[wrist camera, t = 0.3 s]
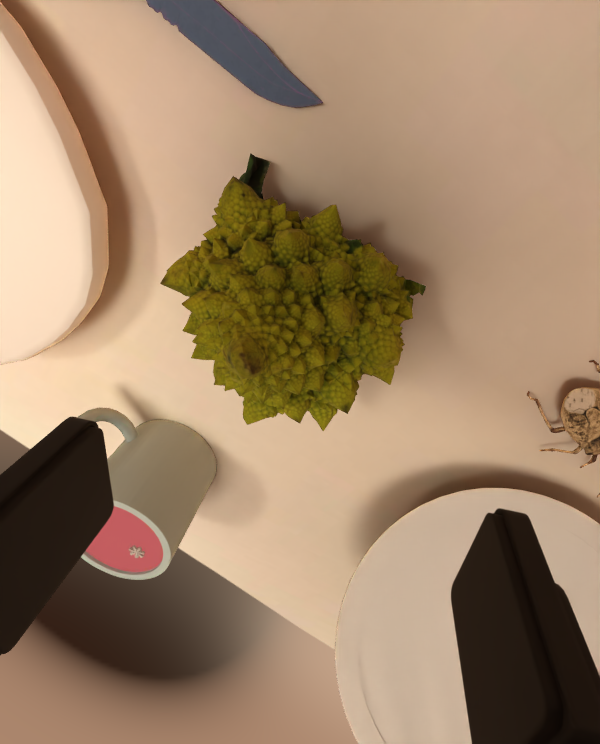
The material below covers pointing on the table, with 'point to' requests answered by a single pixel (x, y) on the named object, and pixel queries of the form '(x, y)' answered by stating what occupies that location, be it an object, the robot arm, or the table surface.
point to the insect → (580, 420)
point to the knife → (235, 50)
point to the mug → (150, 494)
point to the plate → (43, 207)
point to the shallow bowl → (441, 612)
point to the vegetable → (290, 305)
